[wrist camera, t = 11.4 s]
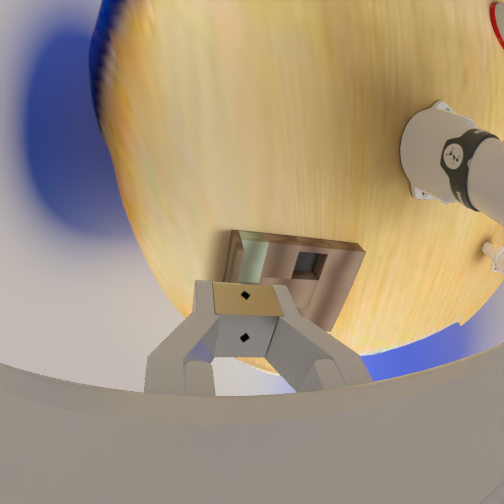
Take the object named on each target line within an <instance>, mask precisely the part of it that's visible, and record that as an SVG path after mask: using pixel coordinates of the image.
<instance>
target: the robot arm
mask: <svg viewBox="0 0 504 504" xmlns="http://www.w3.org/2000/svg"><path fill="white" fill-rule="evenodd" d="M400 156H401V163H402V167H403V170H404V172H405V174H406V176H407V178H408V179H409V181H410V185H411V193H412V196H413V197H414V198H417V199H433V200H439V201H441V202H443V203H445V204H448V203H458V202H460V203H462V204H463V205H464V206H466V207H467V208H470V209H472V210H474V211H477V212H482V213H484V214H485V215H487V216H488V217H490V218H491V219H493V220H494V221H496V222H497V223H499V224H500V225H502V226H503V227H504V141H501V140H500V139H499V138H498V137H497V136H495V135H493V134H491V133H489V132H487V131H484V130H482V129H480V128H479V127H477V126H476V123H475V122H473V121H472V120H471V118H469V117H466V116H463V115H460V114H457V113H455V112H454V111H453V110H452V109H451V108H450V107H449V106H448V105H447V104H446V103H445V102H443V101H437V102H436V103H435V104H434V105H433V106H432V107H431V108H429V109H426V110H423V111H420V112H418V113H417V114H416V115H414V116H413V117H412V118H411V120H410V121H409V122H408V124H407V126H406V128H405V130H404V133H403V136H402V140H401V147H400ZM422 192H423V193H422ZM214 357H266V358H265V359H266V360H267V361H268V362H269V363H270V364H271V365H272V366H273V367H274V369H275V370H276V371H277V372H278V373H279V374H280V375H281V376H282V377H283V378H284V379H285V380H286V381H287V382H288V383H289V384H290V385H291V386H292V387H293V388H294V389H295V390H296V391H297V393H290V394H276V395H257V396H215V387H214V379H213V370H212V365H210V364H211V362H212V360H213V359H214ZM0 504H504V343H503V344H501V345H498V346H496V347H493V348H491V349H488V350H486V351H483V352H481V353H477V354H475V355H472V356H469V357H466V358H463V359H460V360H457V361H454V362H451V363H448V364H444V365H441V366H437V367H434V368H430V369H427V370H423V371H419V372H415V373H412V374H408V375H403V376H399V377H394V378H390V379H385V380H381V381H376V382H373V380H372V378H371V376H370V375H369V373H368V371H367V369H366V367H365V365H364V363H363V361H362V359H361V358H360V356H359V355H358V354H357V353H356V352H354V351H353V350H351V349H350V348H348V347H347V346H345V345H344V344H343V343H341V342H340V341H338V340H337V339H335V338H334V337H333V336H331V335H330V334H328V333H327V332H325V331H324V330H323V329H321V328H320V327H318V326H317V325H315V324H314V323H313V322H311V321H310V320H308V319H307V318H306V317H300V315H299V312H298V310H297V308H296V306H295V303H294V301H293V299H292V297H291V294H290V292H289V290H288V288H287V286H285V285H251V284H239V283H228V282H216V281H212V282H211V281H204V280H196V281H195V288H194V298H193V309H192V313H191V314H190V315H189V316H188V317H187V318H186V319H185V320H184V321H183V322H182V323H181V324H180V325H179V326H178V327H177V328H176V329H175V330H174V331H173V332H172V333H171V334H170V335H169V336H168V337H167V338H166V339H165V340H164V341H163V342H162V343H161V344H160V345H159V346H158V347H157V348H156V349H155V350H154V351H153V352H152V353H151V354H150V355H149V356H148V358H147V367H146V377H145V387H144V393H143V392H134V391H125V390H117V389H110V388H103V387H97V386H91V385H86V384H80V383H74V382H70V381H65V380H61V379H56V378H52V377H47V376H43V375H39V374H36V373H32V372H28V371H25V370H21V369H17V368H14V367H11V366H8V365H4V364H2V363H0Z"/></svg>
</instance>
